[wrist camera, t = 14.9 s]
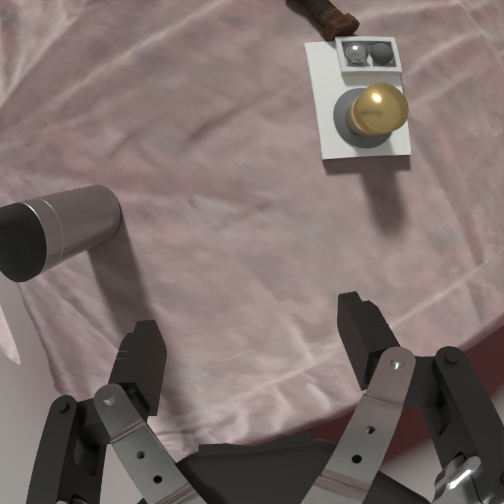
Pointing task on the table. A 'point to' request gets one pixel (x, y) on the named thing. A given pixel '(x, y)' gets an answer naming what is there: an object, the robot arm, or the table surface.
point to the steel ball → (356, 53)
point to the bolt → (331, 19)
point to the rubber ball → (381, 53)
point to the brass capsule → (377, 111)
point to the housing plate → (350, 97)
